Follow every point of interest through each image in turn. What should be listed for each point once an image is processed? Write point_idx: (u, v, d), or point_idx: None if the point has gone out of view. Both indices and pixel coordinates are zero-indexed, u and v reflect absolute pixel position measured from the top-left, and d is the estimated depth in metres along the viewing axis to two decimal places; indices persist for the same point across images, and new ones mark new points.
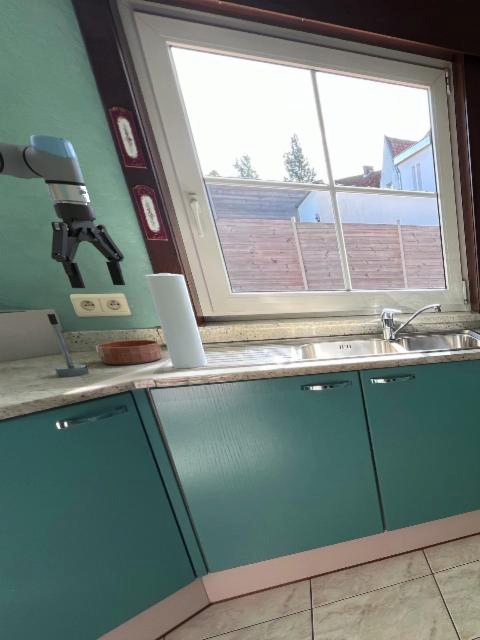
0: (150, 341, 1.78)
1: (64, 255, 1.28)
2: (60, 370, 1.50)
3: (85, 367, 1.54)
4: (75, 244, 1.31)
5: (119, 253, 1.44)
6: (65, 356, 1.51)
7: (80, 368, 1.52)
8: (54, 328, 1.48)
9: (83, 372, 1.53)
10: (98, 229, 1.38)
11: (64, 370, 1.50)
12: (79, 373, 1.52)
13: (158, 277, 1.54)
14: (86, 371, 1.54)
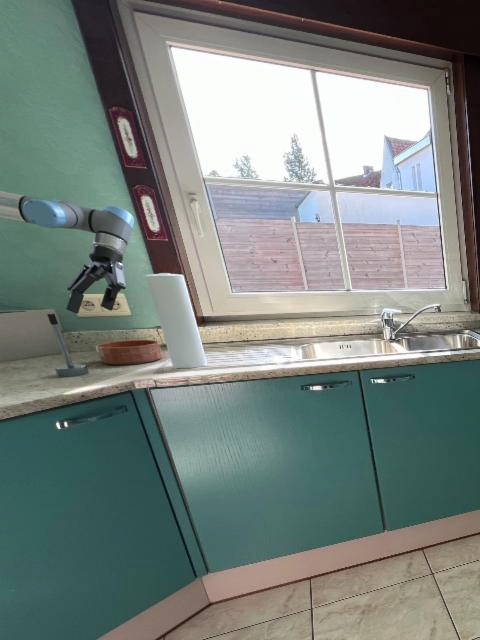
0: (150, 341, 1.78)
1: None
2: (60, 370, 1.50)
3: (85, 367, 1.54)
4: None
5: None
6: (65, 356, 1.51)
7: (80, 368, 1.52)
8: (54, 328, 1.48)
9: (83, 372, 1.53)
10: None
11: (64, 370, 1.50)
12: (79, 373, 1.52)
13: (158, 277, 1.54)
14: (86, 371, 1.54)
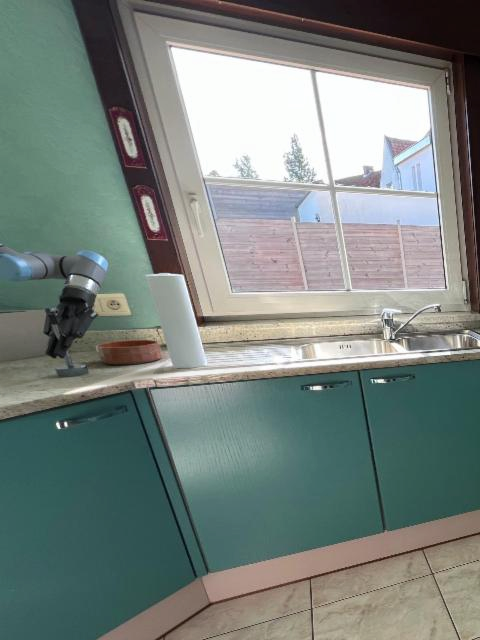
0: (150, 341, 1.78)
1: None
2: (60, 370, 1.50)
3: (85, 367, 1.54)
4: None
5: None
6: (65, 356, 1.51)
7: (80, 368, 1.52)
8: (54, 328, 1.48)
9: (83, 372, 1.53)
10: None
11: (64, 370, 1.50)
12: (79, 373, 1.52)
13: (158, 277, 1.54)
14: (86, 371, 1.54)
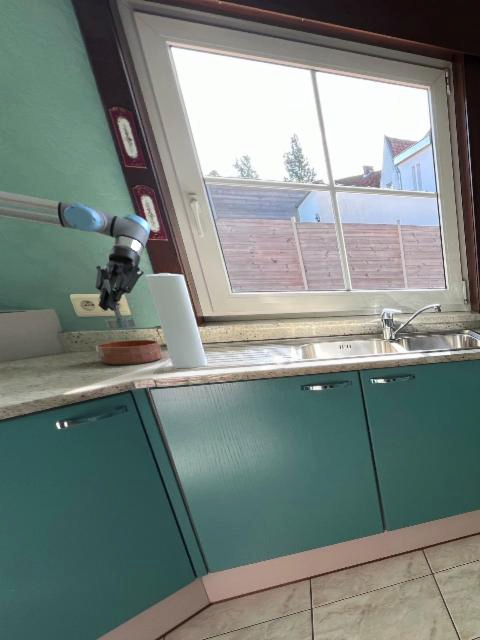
0: (150, 341, 1.78)
1: None
2: (111, 322, 1.65)
3: (132, 320, 1.69)
4: None
5: None
6: (115, 309, 1.66)
7: (128, 320, 1.67)
8: (106, 283, 1.63)
9: (131, 324, 1.68)
10: None
11: (114, 322, 1.65)
12: (127, 325, 1.67)
13: (158, 277, 1.54)
14: (133, 324, 1.69)
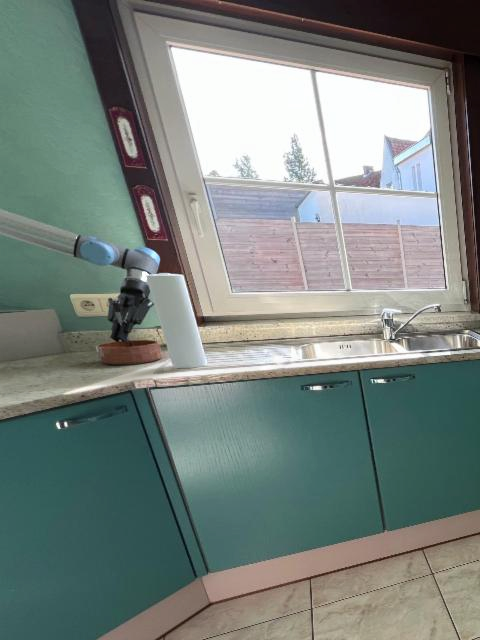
0: (150, 341, 1.78)
1: None
2: None
3: None
4: None
5: None
6: (126, 340, 1.71)
7: None
8: (117, 315, 1.68)
9: None
10: None
11: None
12: None
13: (158, 277, 1.54)
14: None
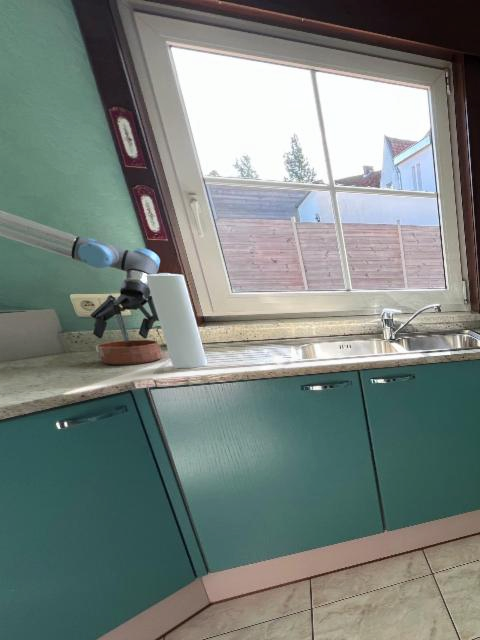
0: (150, 341, 1.78)
1: None
2: None
3: None
4: None
5: None
6: (126, 342, 1.70)
7: None
8: (118, 317, 1.67)
9: None
10: None
11: None
12: None
13: (158, 277, 1.54)
14: None
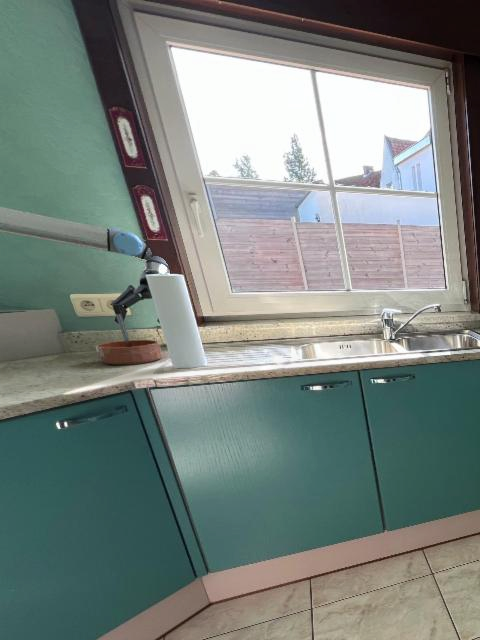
0: (150, 341, 1.78)
1: None
2: None
3: None
4: None
5: None
6: (126, 342, 1.70)
7: None
8: (118, 317, 1.67)
9: None
10: None
11: None
12: None
13: (158, 277, 1.54)
14: None
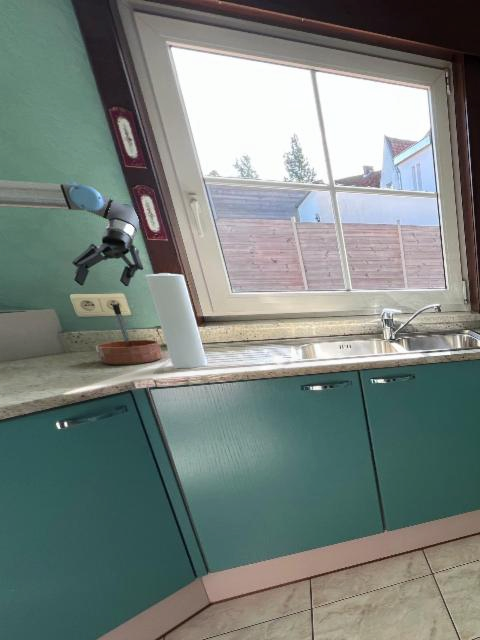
0: (150, 341, 1.78)
1: None
2: None
3: None
4: None
5: None
6: (126, 342, 1.70)
7: None
8: (118, 317, 1.67)
9: None
10: None
11: None
12: None
13: (158, 277, 1.54)
14: None
